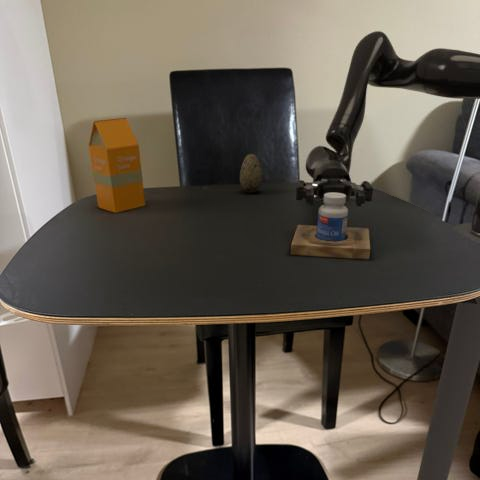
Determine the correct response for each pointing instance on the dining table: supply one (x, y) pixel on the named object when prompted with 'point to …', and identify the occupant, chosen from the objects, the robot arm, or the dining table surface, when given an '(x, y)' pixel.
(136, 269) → the dining table surface
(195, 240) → the dining table surface
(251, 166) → the decorative egg
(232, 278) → the dining table surface
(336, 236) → the pill bottle
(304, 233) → the pad
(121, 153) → the orange juice
